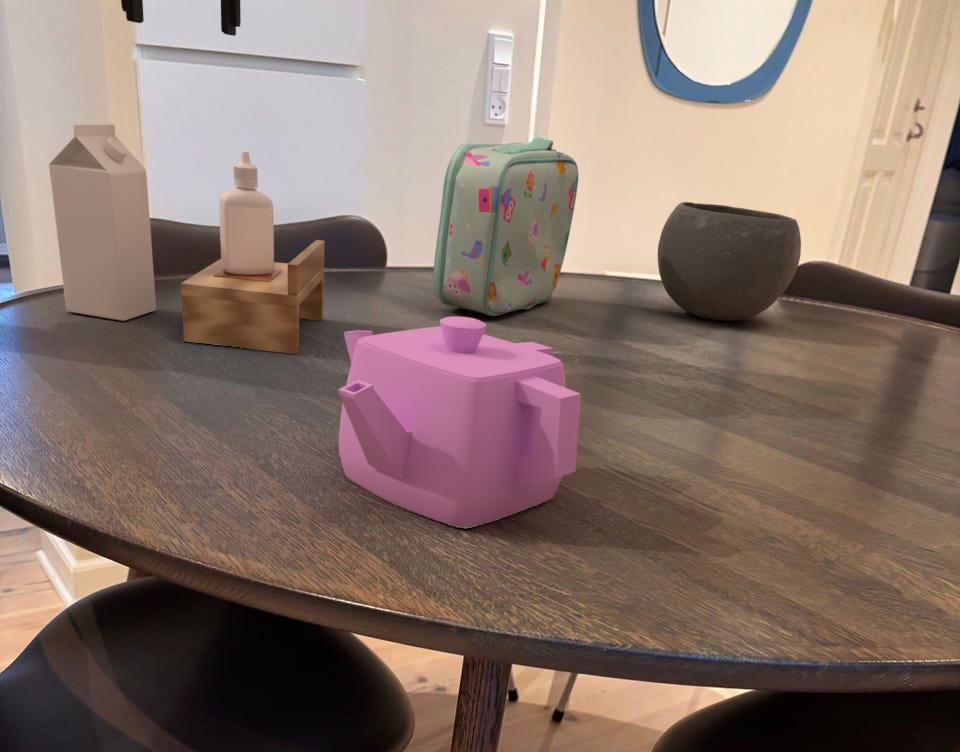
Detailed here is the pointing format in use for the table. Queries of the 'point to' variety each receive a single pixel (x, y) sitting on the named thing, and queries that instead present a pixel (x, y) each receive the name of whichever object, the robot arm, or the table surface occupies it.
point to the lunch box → (504, 225)
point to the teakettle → (456, 421)
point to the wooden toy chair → (255, 304)
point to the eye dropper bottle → (246, 224)
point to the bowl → (727, 259)
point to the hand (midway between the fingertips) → (182, 28)
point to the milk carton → (103, 226)
